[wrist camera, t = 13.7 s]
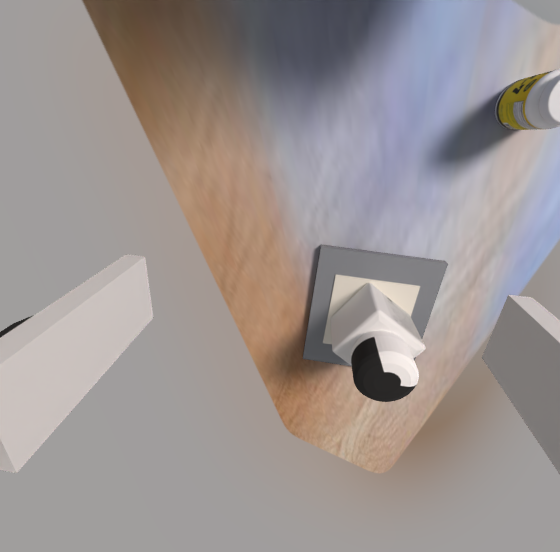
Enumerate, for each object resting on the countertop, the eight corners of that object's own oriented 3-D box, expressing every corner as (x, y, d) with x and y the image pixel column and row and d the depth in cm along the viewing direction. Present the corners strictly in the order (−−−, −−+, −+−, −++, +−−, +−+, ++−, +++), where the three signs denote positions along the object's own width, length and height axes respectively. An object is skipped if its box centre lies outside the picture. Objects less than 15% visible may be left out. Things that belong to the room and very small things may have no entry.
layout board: (321, 244, 42) (321, 247, 41) (444, 261, 41) (448, 264, 40) (303, 354, 50) (302, 359, 48) (407, 370, 49) (409, 376, 48)
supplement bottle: (538, 69, 32) (607, 49, 25) (547, 115, 34) (614, 110, 26) (488, 94, 34) (537, 82, 26) (498, 138, 35) (548, 139, 27)
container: (369, 349, 46) (386, 422, 35) (329, 318, 45) (332, 383, 33) (410, 314, 43) (444, 382, 32) (368, 280, 42) (388, 337, 30)
